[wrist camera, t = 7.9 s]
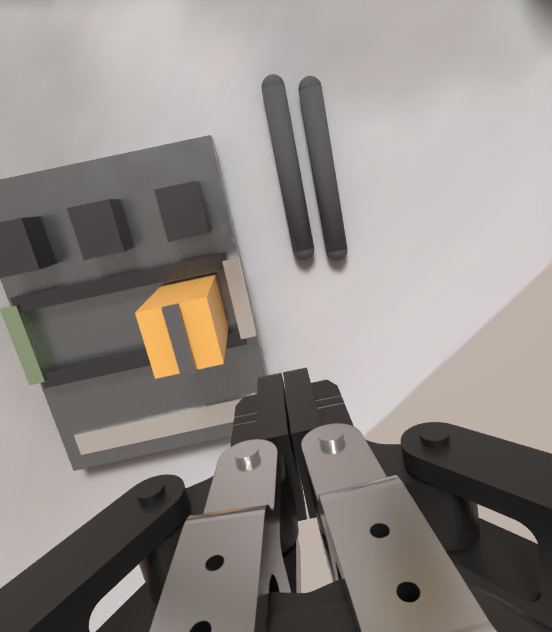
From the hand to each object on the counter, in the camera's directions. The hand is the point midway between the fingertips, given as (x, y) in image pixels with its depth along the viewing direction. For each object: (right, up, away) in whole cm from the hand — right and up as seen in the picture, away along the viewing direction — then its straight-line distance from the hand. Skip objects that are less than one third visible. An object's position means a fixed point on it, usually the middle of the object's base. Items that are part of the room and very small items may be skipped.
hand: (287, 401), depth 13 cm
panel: (-10, +3, +17) cm, 20 cm away
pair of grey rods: (+2, +12, +16) cm, 20 cm away
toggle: (-6, +3, +16) cm, 17 cm away
